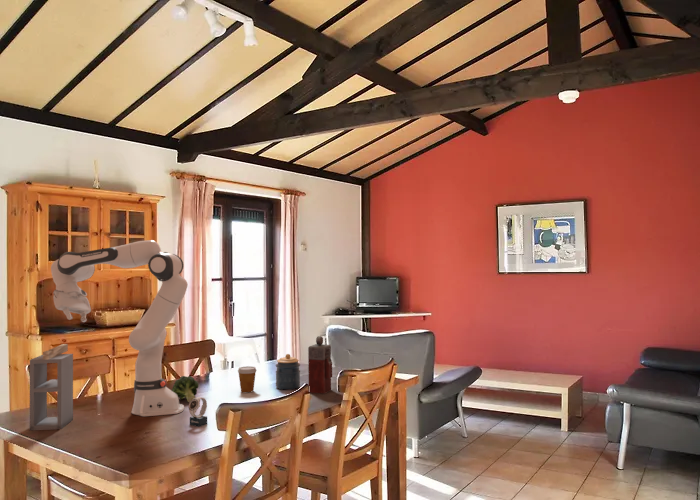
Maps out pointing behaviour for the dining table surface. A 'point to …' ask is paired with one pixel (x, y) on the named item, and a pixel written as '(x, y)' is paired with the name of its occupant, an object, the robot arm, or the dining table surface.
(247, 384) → the disposable coffee cup
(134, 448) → the dining table surface
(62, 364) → the shelf stand
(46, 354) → the slat
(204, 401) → the watch
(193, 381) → the vegetable
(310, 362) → the red square decanter
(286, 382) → the canister
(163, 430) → the dining table surface
